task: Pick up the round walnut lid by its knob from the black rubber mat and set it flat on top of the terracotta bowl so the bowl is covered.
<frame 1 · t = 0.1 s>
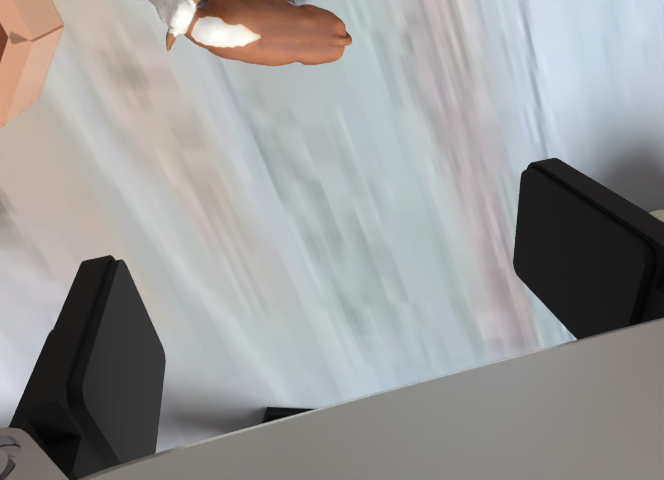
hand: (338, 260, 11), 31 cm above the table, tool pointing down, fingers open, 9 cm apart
bull figurine: (248, 19, 37), on the table
chess piece: (290, 429, 62), on the table
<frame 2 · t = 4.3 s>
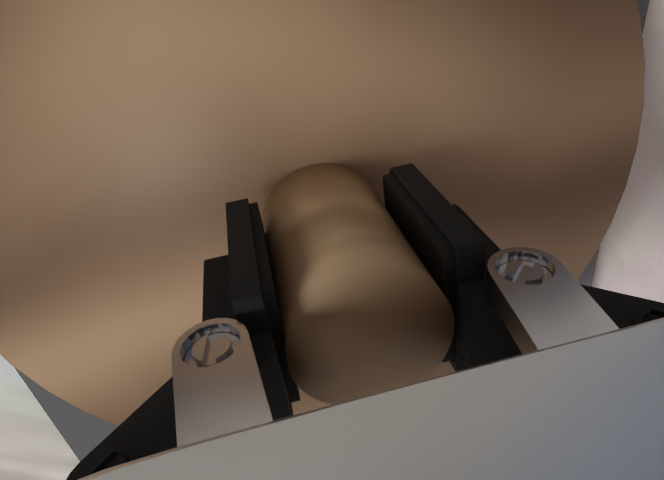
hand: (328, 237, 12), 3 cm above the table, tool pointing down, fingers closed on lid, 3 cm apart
lid: (313, 199, 14), resting on mat, touching gripper
mat: (310, 192, 14), on the table
when the fingers open (10 cm above the table, at t = 9.6 s): lid drops 1 cm, resting on bowl.
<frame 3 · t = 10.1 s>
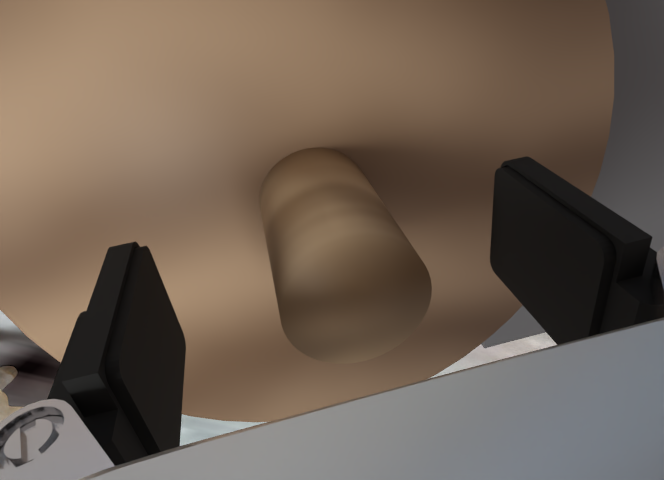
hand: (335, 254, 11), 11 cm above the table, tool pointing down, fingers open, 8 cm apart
lid: (307, 183, 15), point 7 cm above the table, touching bowl
mat: (654, 170, 27), on the table
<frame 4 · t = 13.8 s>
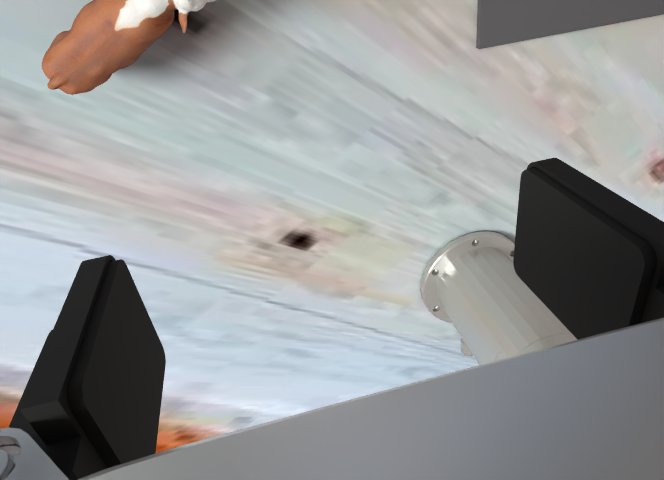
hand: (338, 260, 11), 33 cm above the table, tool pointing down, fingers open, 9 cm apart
bull figurine: (136, 16, 37), on the table
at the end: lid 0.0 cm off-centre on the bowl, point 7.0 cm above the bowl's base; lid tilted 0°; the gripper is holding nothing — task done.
